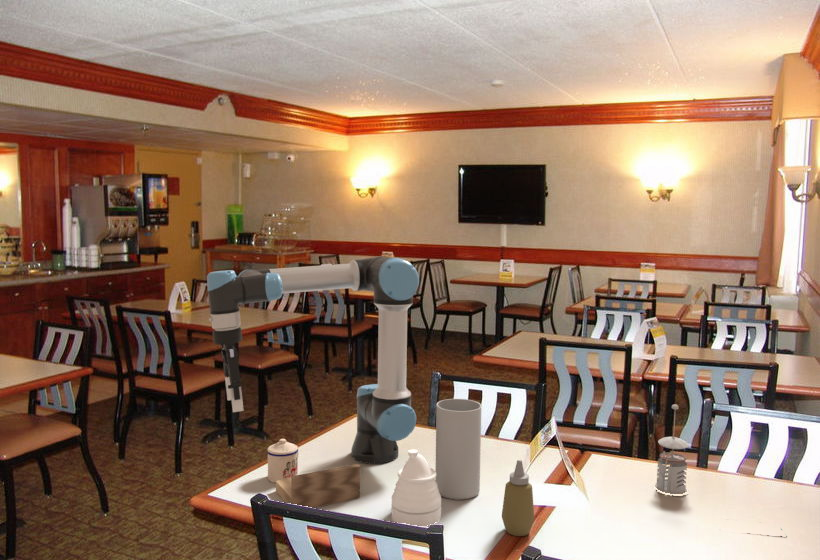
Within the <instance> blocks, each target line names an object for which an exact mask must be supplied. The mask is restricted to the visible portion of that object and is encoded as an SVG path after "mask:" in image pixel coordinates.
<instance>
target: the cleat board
mask: <svg viewBox="0 0 820 560" xmlns="http://www.w3.org/2000/svg"><path fill="white" fill-rule="evenodd" d="M275 492H276V493H277V494H278V496H281V497H282V498H283V499H284V500H285V501H284V500H283V499H282V498H281V497H280V498H281V499H282V500H283V501H284V503H286V502H287V503H291V504H297V505H302V506H308V507H315V508H319V507H323V506H324V507H325V506H330V505H333V504H338V503H342V502H347V501H352V500H356V499H360V498H361V465H359V464H358V463H353V464H348V465H343V466H337V467H333V468H328V469H323V470H317V471H312V472H308V473H307V472H306V473H301V474H298V475H295V476H291V478H288V479H283V480H278V481H276V483H275ZM287 503H286V504H287ZM315 508H314V509H315Z"/></svg>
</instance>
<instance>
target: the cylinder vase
mask: <svg viewBox="0 0 820 560" xmlns="http://www.w3.org/2000/svg"><path fill="white" fill-rule="evenodd" d="M435 405H436V409H435V412H436V416H435V417H436V419H435V469H434V471H435V472H436V474H437V475H436V478H435V482H436V483H437V485H438V490H439V493H440V495H441V497H443V498H446V499H450V500H456V501H457V500H458V501H459V500H460V501H462V500H468V499H469V500H470V499H472V498H475V497H476V496H478V495H479V493H480V490H481V489H480V487H481V450H482V449H481V446H482V441H481V440H482V404H481V403H480V402H478V401H476V400H472V399H466V398H449V399H448V398H447V399H442V400H439V401H437V403H436V404H435Z"/></svg>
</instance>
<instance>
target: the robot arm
mask: <svg viewBox="0 0 820 560" xmlns="http://www.w3.org/2000/svg"><path fill="white" fill-rule="evenodd" d="M206 281H207V282H206V283H207V285H206V286H207V287H206V288H207V294H208V295H207V296H208V305H209V312H210V313H209V314H210V317H209V318H208V321H209V322H211V328H212V329H213V330H212V340H213V343H214V345H217V346H221V350H220V352H221V354H220V355H221V358H222V359H221V360H222V362H223V373H224V374H223V375H224V381H225V390H226V399H227V401H231V407H232V413H238V412H243V411H245V410H244V403H243V393H242V385H243V383H242V379H241V374H240V368H239V367H240V366H239V358H238V357H239V354H238V353H239V352H238V349H237V347H235V344H237V343H240V342H242V340H243V333H242V328H241V324H242V323H241V322H242V321H241V313H240V312H241V311H240V305H245V304H252V303H261V302H271V301H275V300H280V299H281V298H282V296H283V294H292V293H304V292H305V293H306V292H318V291H319V292H320V291H329V290H343V289H344V290H345V289H351V290H352V291H354V292H359V291H366V292H372V293H373V304H374V306H375V307H377V309H378V330H377V331H378V333H377V334H378V337H377V341H378V342H377V344H378V345H377V348H378V349H377V383H372V384H365V385H361V386H360V387H358V388H357V392H356V393H357V394H356V435H355V438H354V440H353V443H352V447H351V458H352V459H353V460H355V461H357V462H358V463H359V462H360V463H365V464H385V463H389V462H392V461H394V460H396V459H398V458H399V447H398V444H397V442H399V441H402V440H404V439H406V438H407V437H409V435H410V434H412V432H413V431H414V430H415V427H416V424H417V414H416V412H415V410H414V408H413V407H412V392H411V391H410V390H409V389H408V388H407V359H408V357H407V356H408V355H407V352H408V349H407V346H408V310H409V308H410V307H411V306H412V305H413V304H414V294H415V293H416V292H417V291H418V288H419V284H420V278H419V273H418V271H417V269H416V268H415V266H414V265H413V264H412V263H411V262H409V261H407V260H406V259H403V258H400V257H391V256H386V255H384V256H383V255H380V256H374V257H368V258H362V259H361V258H360V259H352V260H350V261H349V263H339V264H336V263H335V264H323V265H311V266H297V267H296V266H294V267H281V268H280V267H279V268H267V269H253V268H249V269H244V270H242V271H241V272H239V274H238V275H237V274H236V272H235V270H233V269H229V270H228V269H227V270H217V271H211V272H209V273H208V274H207V275H206Z"/></svg>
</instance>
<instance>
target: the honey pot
mask: <svg viewBox="0 0 820 560" xmlns="http://www.w3.org/2000/svg"><path fill="white" fill-rule="evenodd" d="M407 454H408V457H409V458H408V459H407V461H406V462H405V464H404V465H403V467H402V468H400V469H399V470H398V471H397V477H398V480H397V481H396V483H395V487H394V489H393V493H392V495H391V515H390V516H391V520H392V521H393V520H394V521H393V522H394V523H396V522H398V523H406V524H410V525H417V526H427V525H428V526H429V525H430V524H434V523H435V522H438V521H439V520H440V521H441V519H442V496H441V495H440V493H439V490H438V485H437V483H436V482H435V478H436V475H437V474H436V472H435V469H433V468H431V466H430V464H429V463H428V461H427V460H426V458H425V456H424V455H422V454H420V453H419V451H418V450H417V449H409V450H407ZM440 518H441V519H440ZM440 521H439V522H440ZM439 522H438V523H439ZM429 527H430V526H429Z"/></svg>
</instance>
